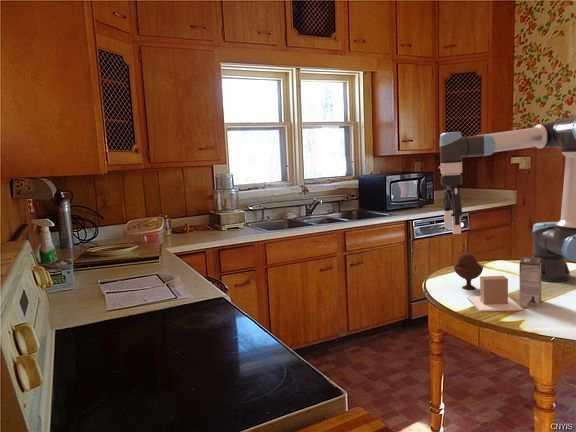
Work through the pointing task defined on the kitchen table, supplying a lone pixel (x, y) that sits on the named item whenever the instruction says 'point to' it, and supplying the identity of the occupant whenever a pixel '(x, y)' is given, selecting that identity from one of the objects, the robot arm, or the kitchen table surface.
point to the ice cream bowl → (468, 269)
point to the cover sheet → (494, 306)
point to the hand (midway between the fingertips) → (452, 230)
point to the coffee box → (530, 282)
